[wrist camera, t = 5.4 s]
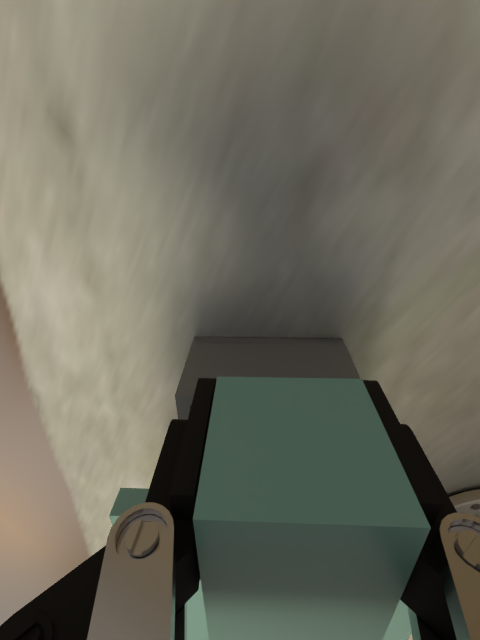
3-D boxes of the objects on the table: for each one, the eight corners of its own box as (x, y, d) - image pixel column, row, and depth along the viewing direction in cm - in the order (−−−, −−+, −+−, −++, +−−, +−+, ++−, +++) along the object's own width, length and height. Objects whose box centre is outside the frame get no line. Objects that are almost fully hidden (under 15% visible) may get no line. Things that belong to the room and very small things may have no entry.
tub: (318, 491, 29) (332, 567, 24) (207, 488, 30) (197, 561, 24) (342, 338, 22) (369, 398, 17) (194, 336, 22) (175, 395, 17)
